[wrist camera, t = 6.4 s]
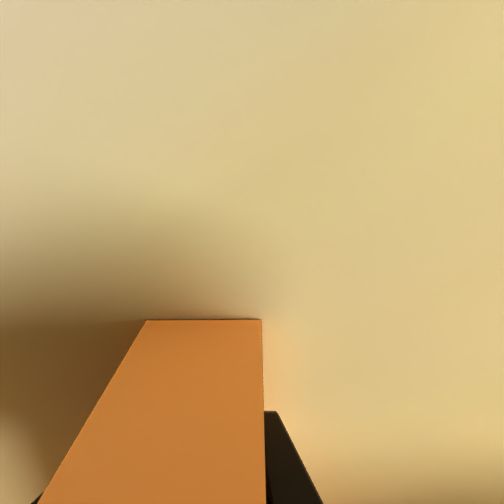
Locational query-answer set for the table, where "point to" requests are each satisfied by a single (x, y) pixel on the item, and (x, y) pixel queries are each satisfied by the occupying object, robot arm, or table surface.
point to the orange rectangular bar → (174, 422)
